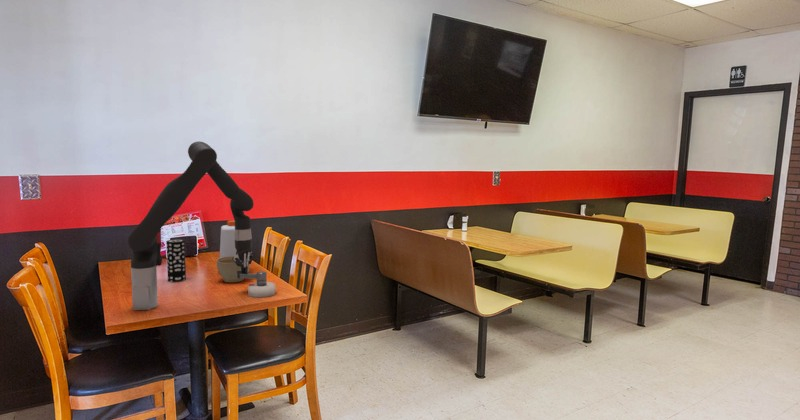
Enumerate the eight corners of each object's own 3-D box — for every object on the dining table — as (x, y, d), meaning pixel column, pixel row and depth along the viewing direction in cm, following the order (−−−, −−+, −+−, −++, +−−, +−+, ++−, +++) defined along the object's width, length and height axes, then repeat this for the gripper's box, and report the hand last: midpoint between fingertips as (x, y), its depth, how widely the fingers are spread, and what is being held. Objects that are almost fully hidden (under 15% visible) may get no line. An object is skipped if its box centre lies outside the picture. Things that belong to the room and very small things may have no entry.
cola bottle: (146, 264, 271) (143, 212, 268) (162, 262, 275) (160, 211, 272) (145, 267, 264) (142, 213, 260) (162, 266, 267) (160, 213, 264)
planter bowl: (215, 285, 231) (214, 263, 230) (218, 277, 247) (217, 256, 245) (249, 283, 235) (249, 262, 234) (250, 275, 251) (250, 255, 250)
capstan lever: (268, 283, 221) (268, 271, 220) (263, 286, 216) (263, 273, 216) (239, 281, 223) (239, 269, 222) (235, 284, 219) (234, 271, 218)
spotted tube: (178, 282, 235) (177, 242, 232) (164, 281, 236) (162, 241, 234) (189, 278, 243) (188, 239, 241) (175, 277, 244) (173, 239, 242)
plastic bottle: (249, 274, 254) (248, 222, 251) (219, 276, 248) (218, 223, 245) (247, 267, 268) (246, 218, 265) (218, 269, 262) (217, 219, 259)
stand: (273, 297, 214) (273, 287, 214) (246, 297, 212) (246, 287, 212) (276, 289, 226) (276, 280, 226) (250, 290, 224) (250, 280, 224)
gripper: (247, 235, 228) (248, 270, 231) (226, 240, 216) (228, 276, 219) (259, 236, 225) (260, 272, 227) (239, 241, 213) (240, 278, 216)
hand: (244, 274), depth 223 cm, fingers closed
